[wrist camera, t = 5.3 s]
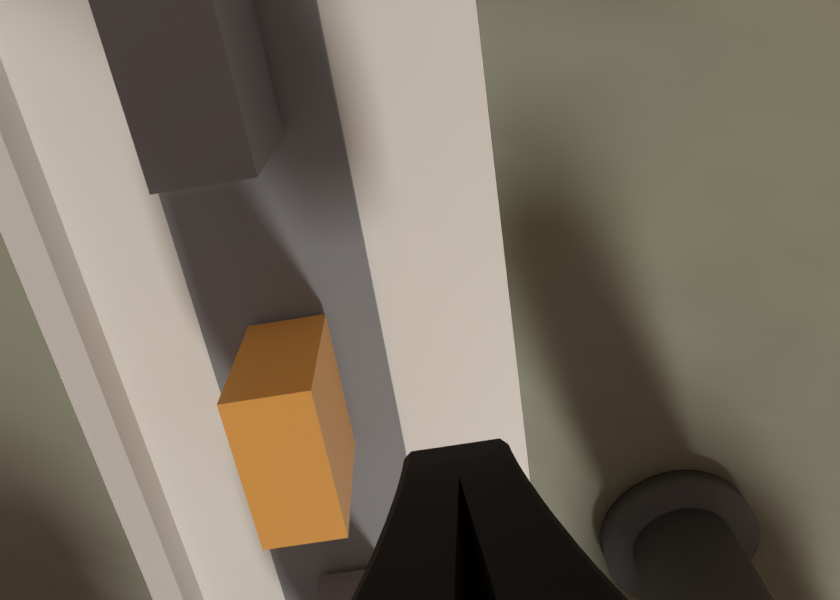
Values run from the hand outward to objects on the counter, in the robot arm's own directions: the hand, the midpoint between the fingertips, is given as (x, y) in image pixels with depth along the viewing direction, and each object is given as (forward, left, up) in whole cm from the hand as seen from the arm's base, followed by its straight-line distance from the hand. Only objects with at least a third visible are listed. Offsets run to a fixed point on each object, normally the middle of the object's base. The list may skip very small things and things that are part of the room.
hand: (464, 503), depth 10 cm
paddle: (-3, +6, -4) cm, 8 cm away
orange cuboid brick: (-3, 0, -4) cm, 5 cm away
